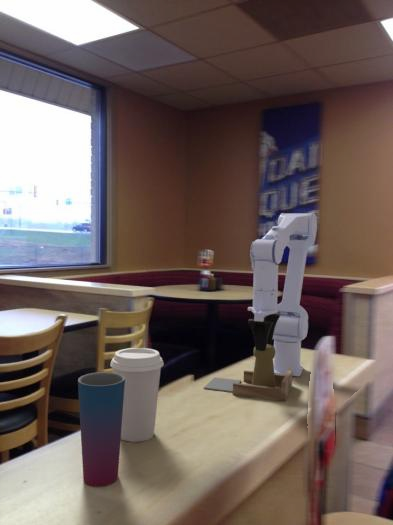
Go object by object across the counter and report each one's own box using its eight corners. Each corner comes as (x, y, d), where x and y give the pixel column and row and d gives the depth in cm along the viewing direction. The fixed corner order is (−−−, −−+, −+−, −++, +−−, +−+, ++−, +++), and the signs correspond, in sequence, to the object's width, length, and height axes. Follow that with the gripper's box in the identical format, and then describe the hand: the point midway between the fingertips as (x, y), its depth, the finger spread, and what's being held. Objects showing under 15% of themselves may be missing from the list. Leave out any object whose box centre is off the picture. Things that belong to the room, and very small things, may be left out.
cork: (275, 386, 115) (276, 342, 115) (277, 394, 109) (278, 348, 109) (250, 385, 116) (251, 341, 115) (250, 393, 110) (252, 346, 109)
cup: (81, 467, 73) (81, 372, 72) (125, 466, 74) (126, 371, 73) (73, 490, 66) (74, 385, 66) (122, 489, 67) (123, 385, 66)
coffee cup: (171, 429, 88) (173, 350, 87) (145, 450, 79) (146, 362, 79) (128, 420, 92) (129, 344, 91) (98, 439, 83) (99, 355, 83)
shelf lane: (244, 380, 120) (244, 364, 120) (292, 385, 116) (292, 369, 116) (232, 394, 109) (233, 377, 109) (285, 401, 105) (285, 383, 105)
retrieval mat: (214, 378, 121) (214, 377, 121) (241, 381, 119) (241, 380, 119) (203, 388, 113) (203, 387, 113) (232, 392, 110) (232, 391, 110)
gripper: (254, 286, 119) (253, 339, 120) (241, 292, 106) (240, 351, 106) (282, 287, 117) (281, 341, 118) (273, 293, 103) (271, 355, 104)
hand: (263, 346), depth 112 cm, fingers open, 7 cm apart
